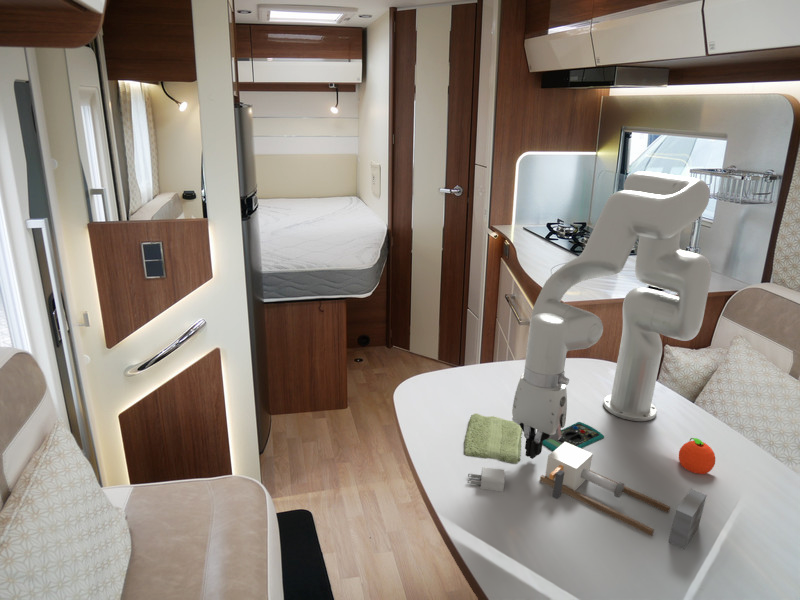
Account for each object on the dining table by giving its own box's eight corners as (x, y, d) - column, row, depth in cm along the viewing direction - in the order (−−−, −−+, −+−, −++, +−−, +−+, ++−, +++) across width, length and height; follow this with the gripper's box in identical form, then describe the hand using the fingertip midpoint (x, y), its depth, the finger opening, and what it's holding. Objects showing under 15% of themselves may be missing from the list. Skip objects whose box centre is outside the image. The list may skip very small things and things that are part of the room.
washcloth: (523, 428, 139) (524, 416, 138) (521, 472, 123) (523, 459, 122) (467, 420, 141) (468, 408, 140) (458, 462, 125) (459, 449, 124)
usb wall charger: (502, 498, 114) (504, 480, 113) (466, 493, 115) (468, 475, 114) (502, 485, 118) (504, 468, 116) (467, 480, 119) (469, 463, 117)
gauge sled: (561, 464, 123) (565, 441, 121) (626, 494, 114) (631, 470, 112) (534, 488, 115) (537, 464, 113) (601, 522, 106) (606, 497, 104)
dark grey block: (556, 492, 114) (560, 469, 112) (560, 494, 113) (564, 471, 112) (552, 496, 113) (556, 473, 111) (556, 498, 112) (560, 475, 110)
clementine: (668, 458, 129) (675, 429, 127) (701, 460, 129) (708, 431, 127) (683, 480, 122) (690, 450, 119) (717, 483, 121) (725, 453, 119)
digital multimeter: (605, 444, 134) (606, 432, 133) (562, 465, 126) (564, 453, 125) (578, 429, 140) (580, 418, 139) (536, 449, 131) (537, 437, 130)
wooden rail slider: (553, 459, 127) (558, 426, 124) (701, 528, 108) (711, 490, 106) (519, 488, 117) (523, 453, 114) (675, 569, 98) (685, 529, 96)
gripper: (587, 382, 115) (574, 462, 121) (520, 357, 124) (511, 433, 130) (569, 394, 109) (556, 478, 115) (500, 368, 119) (492, 447, 125)
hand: (532, 454), depth 123 cm, fingers closed
